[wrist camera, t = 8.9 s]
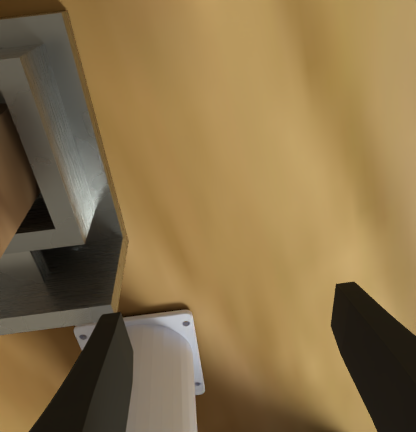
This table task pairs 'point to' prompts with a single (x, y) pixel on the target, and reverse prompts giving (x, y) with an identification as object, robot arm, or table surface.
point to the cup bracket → (58, 185)
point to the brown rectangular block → (13, 180)
